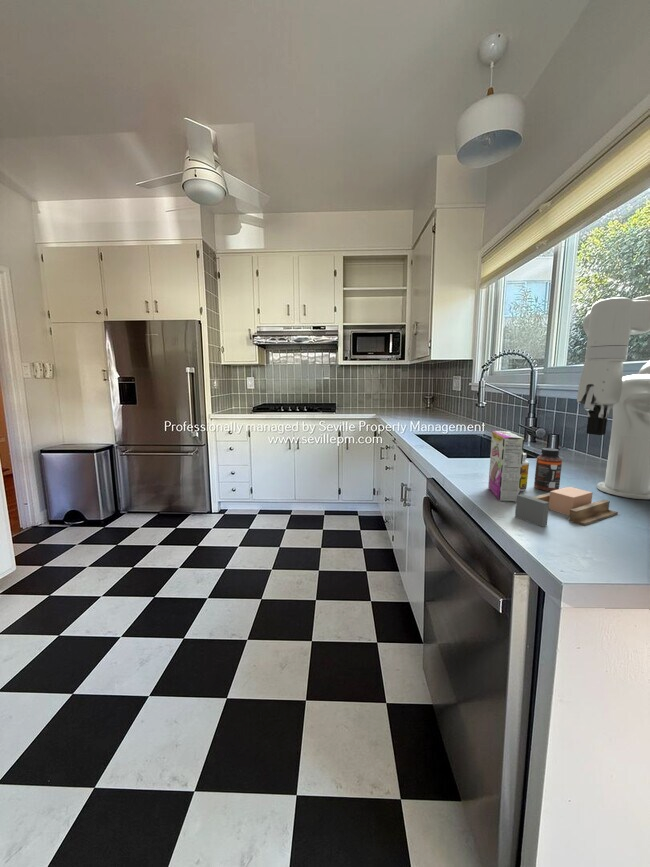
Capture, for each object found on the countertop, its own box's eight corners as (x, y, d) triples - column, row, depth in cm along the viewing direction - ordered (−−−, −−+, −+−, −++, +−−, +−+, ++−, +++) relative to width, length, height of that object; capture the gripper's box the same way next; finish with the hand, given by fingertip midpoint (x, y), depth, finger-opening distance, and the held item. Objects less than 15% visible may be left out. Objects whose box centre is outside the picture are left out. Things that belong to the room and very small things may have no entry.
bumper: (519, 515, 78) (521, 494, 77) (546, 525, 73) (549, 502, 72) (514, 516, 77) (516, 495, 76) (542, 526, 72) (544, 503, 71)
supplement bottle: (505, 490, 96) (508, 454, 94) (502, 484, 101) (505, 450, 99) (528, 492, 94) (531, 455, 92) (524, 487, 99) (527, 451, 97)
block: (567, 504, 86) (569, 486, 85) (590, 510, 81) (592, 492, 81) (548, 509, 82) (550, 491, 81) (571, 516, 78) (573, 497, 77)
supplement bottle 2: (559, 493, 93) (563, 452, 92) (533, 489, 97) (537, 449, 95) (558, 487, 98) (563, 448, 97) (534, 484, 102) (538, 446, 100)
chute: (555, 496, 91) (556, 487, 90) (617, 514, 79) (618, 503, 79) (522, 505, 84) (523, 495, 84) (584, 525, 72) (585, 514, 72)
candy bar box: (486, 488, 98) (491, 430, 95) (505, 489, 97) (510, 431, 94) (498, 501, 87) (503, 436, 84) (519, 503, 86) (525, 437, 84)
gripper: (603, 357, 87) (594, 430, 89) (569, 355, 80) (560, 434, 83) (641, 356, 80) (630, 434, 83) (608, 352, 73) (597, 438, 76)
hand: (595, 434), depth 83 cm, fingers closed
